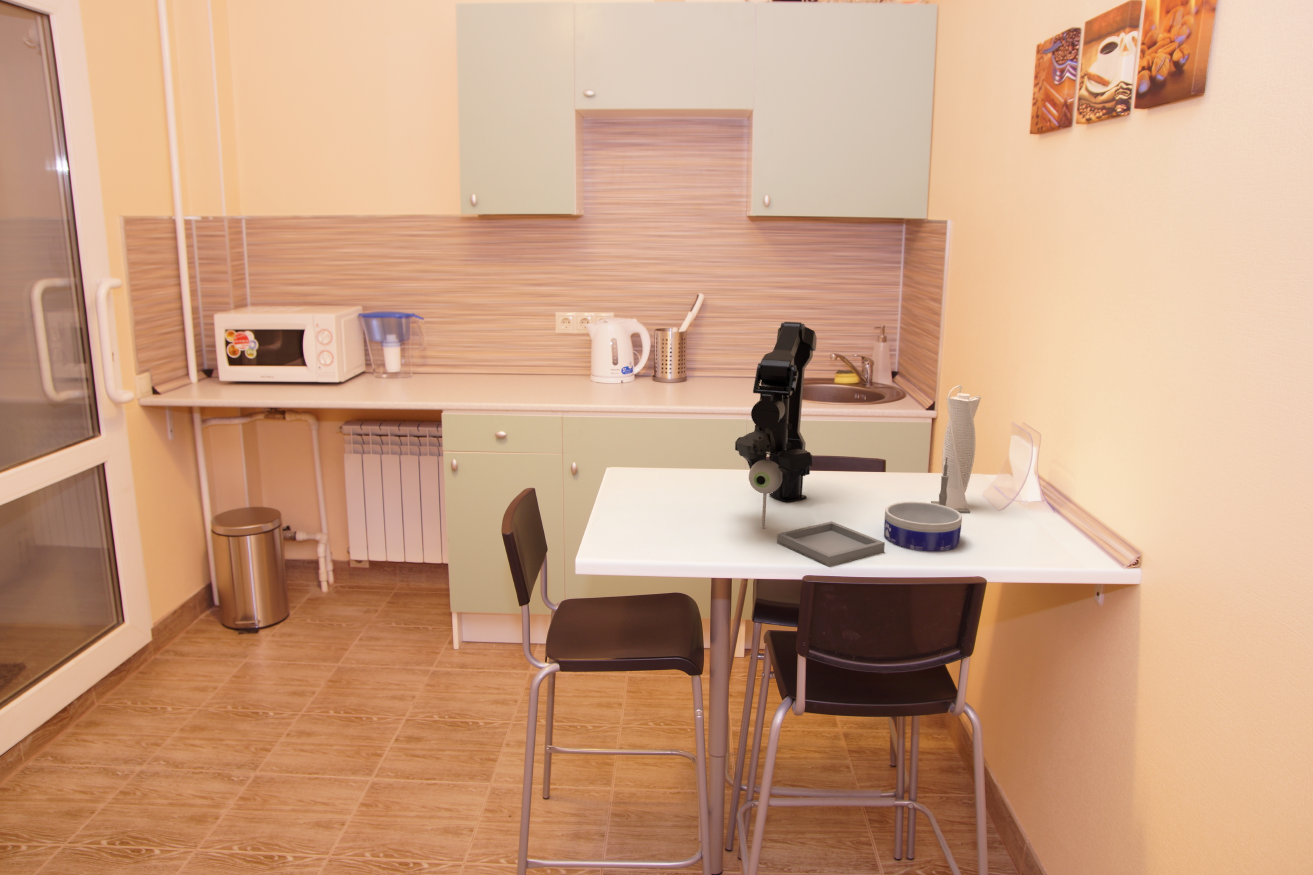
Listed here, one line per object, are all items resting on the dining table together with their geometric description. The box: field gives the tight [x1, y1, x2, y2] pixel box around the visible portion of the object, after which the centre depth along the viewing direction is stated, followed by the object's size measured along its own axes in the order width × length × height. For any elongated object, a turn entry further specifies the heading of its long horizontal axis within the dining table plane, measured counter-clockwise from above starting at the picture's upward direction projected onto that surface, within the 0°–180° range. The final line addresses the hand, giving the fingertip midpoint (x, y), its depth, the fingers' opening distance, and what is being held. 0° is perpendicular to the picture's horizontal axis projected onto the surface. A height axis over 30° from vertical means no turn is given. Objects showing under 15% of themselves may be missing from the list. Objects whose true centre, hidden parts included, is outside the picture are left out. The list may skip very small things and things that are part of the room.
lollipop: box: [748, 459, 782, 529], centre depth 192 cm, size 7×7×15 cm
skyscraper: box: [930, 384, 982, 514], centre depth 207 cm, size 8×8×28 cm
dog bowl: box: [883, 501, 963, 553], centre depth 188 cm, size 15×15×6 cm
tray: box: [776, 521, 886, 567], centre depth 183 cm, size 15×15×2 cm
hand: (771, 490), depth 193 cm, fingers open, 9 cm apart
